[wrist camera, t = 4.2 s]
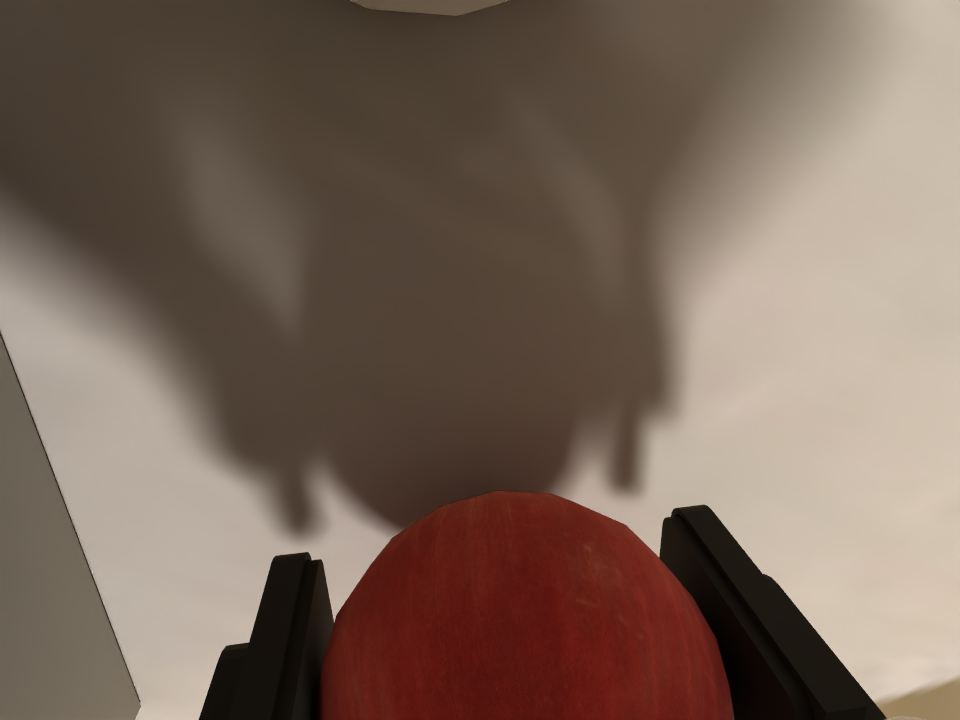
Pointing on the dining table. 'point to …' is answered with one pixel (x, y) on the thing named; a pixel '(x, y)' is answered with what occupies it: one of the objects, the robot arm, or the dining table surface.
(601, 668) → the onion
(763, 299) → the dining table surface
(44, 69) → the dining table surface
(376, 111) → the dining table surface
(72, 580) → the tote
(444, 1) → the can
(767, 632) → the robot arm
